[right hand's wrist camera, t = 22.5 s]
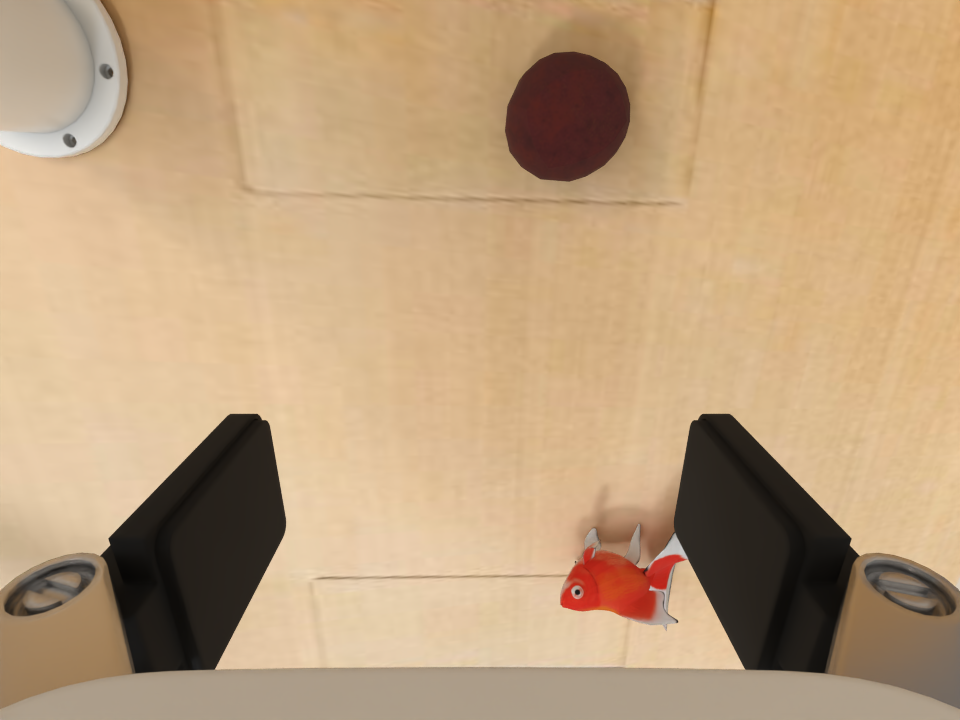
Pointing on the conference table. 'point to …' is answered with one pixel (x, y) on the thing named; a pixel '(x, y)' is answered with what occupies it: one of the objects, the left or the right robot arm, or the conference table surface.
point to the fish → (623, 581)
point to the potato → (567, 116)
